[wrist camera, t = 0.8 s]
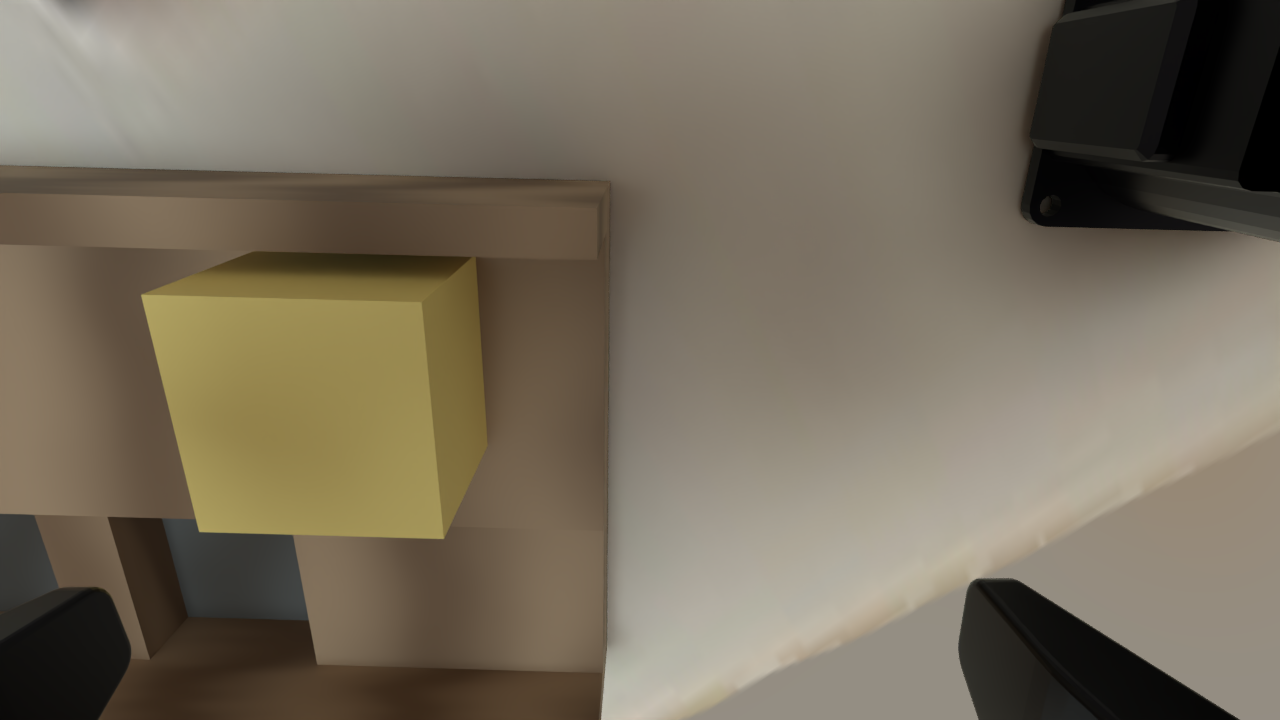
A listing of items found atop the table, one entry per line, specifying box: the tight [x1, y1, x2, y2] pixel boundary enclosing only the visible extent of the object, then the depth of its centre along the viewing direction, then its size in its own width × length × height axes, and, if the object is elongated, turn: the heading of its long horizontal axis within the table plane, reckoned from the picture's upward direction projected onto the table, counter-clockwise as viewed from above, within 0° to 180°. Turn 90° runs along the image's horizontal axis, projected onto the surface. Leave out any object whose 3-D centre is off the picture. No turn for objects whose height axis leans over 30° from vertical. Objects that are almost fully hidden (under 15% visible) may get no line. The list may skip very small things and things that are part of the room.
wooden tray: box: [0, 165, 610, 720], centre depth 18 cm, size 23×15×5 cm, turn 89°
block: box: [141, 251, 488, 539], centre depth 15 cm, size 5×5×4 cm
